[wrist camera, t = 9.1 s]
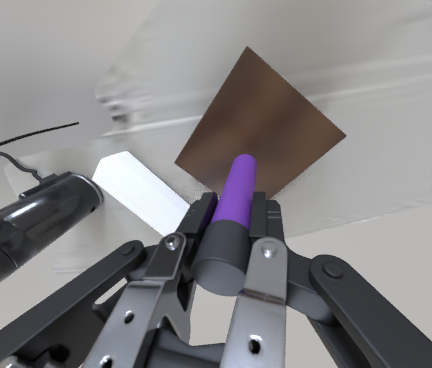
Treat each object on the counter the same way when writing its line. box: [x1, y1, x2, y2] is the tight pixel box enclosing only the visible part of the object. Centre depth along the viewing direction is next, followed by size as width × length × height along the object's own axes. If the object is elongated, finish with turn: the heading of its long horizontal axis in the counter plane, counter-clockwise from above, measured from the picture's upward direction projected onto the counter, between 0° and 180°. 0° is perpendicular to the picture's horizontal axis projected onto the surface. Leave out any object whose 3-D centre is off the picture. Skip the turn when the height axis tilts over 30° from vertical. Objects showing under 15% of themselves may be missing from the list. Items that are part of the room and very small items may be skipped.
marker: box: [191, 154, 257, 296], centre depth 11 cm, size 2×2×11 cm
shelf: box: [174, 46, 347, 200], centre depth 22 cm, size 12×14×8 cm
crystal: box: [92, 151, 190, 237], centre depth 34 cm, size 7×7×24 cm
